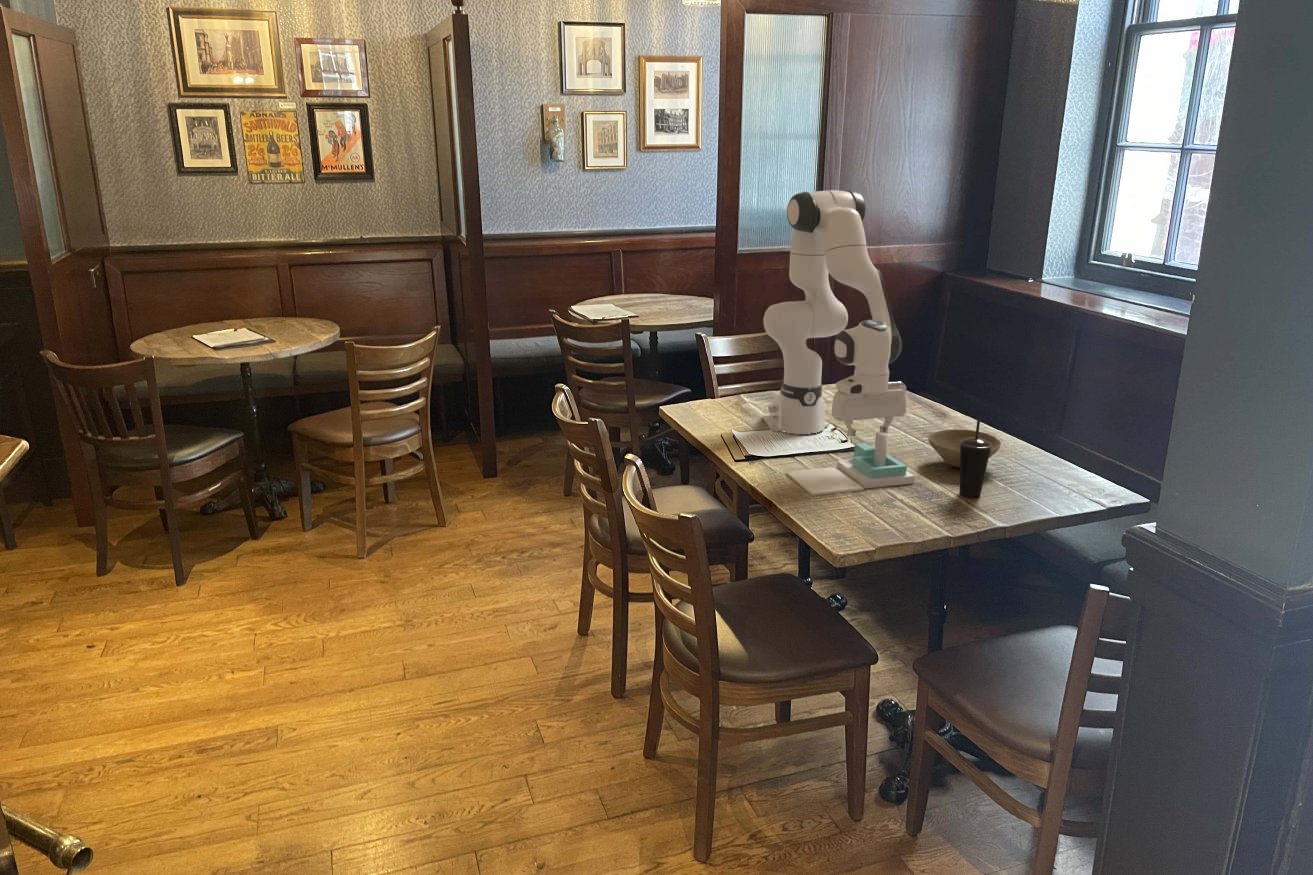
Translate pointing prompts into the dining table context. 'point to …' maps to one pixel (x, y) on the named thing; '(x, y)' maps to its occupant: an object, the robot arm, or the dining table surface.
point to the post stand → (879, 461)
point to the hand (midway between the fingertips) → (867, 434)
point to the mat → (824, 481)
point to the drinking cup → (973, 464)
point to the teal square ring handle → (865, 462)
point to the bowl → (957, 444)
